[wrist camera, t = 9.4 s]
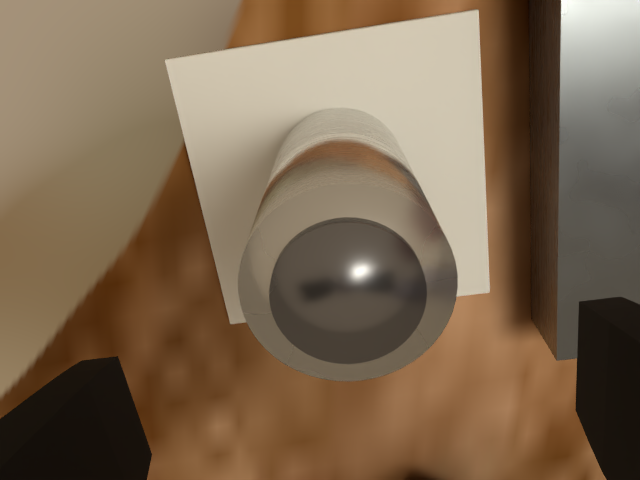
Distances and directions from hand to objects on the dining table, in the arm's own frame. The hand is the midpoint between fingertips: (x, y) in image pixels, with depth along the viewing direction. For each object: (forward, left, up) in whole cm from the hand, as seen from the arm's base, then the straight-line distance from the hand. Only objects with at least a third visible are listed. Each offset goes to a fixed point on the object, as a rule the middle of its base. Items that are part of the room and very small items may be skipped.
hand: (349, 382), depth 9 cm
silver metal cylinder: (0, 0, -10) cm, 10 cm away
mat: (0, 0, -10) cm, 10 cm away
